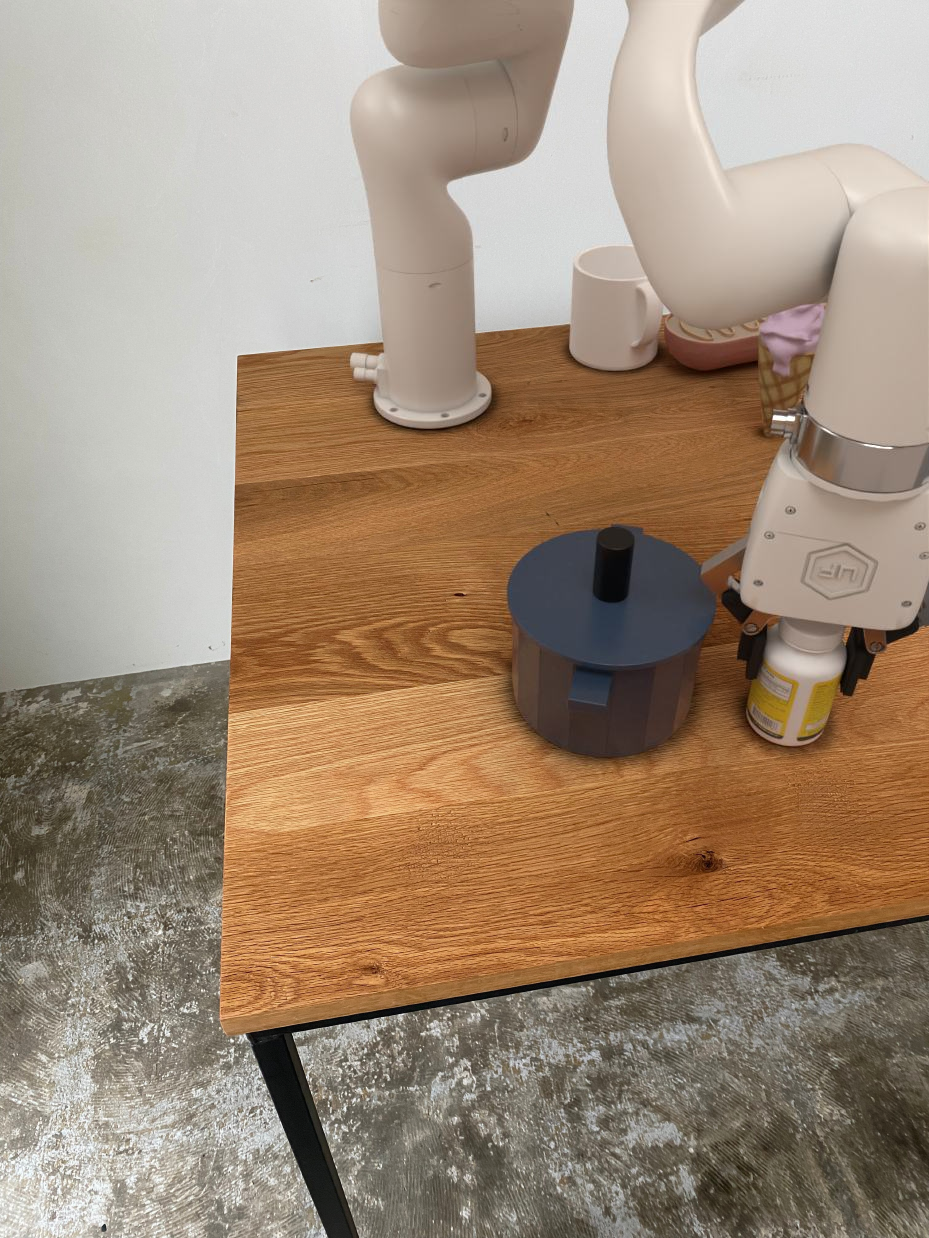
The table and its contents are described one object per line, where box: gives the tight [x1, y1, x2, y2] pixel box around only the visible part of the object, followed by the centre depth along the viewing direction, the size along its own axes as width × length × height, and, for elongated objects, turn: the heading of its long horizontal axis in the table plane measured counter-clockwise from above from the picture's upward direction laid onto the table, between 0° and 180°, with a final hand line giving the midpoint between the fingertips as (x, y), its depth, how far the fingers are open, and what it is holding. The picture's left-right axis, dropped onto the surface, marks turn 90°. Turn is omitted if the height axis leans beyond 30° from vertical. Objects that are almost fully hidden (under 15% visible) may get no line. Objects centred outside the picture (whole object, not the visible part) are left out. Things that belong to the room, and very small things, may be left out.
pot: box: [511, 523, 704, 758], centre depth 65 cm, size 13×18×9 cm
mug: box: [568, 243, 665, 372], centre depth 103 cm, size 13×10×10 cm
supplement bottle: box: [745, 616, 847, 747], centre depth 63 cm, size 5×5×10 cm
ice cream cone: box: [757, 303, 825, 439], centre depth 88 cm, size 7×6×15 cm
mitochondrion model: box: [663, 303, 827, 371], centre depth 104 cm, size 23×10×5 cm, turn 101°
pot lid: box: [506, 526, 718, 671], centre depth 61 cm, size 14×14×6 cm
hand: (798, 671), depth 63 cm, fingers closed on supplement bottle, 5 cm apart
